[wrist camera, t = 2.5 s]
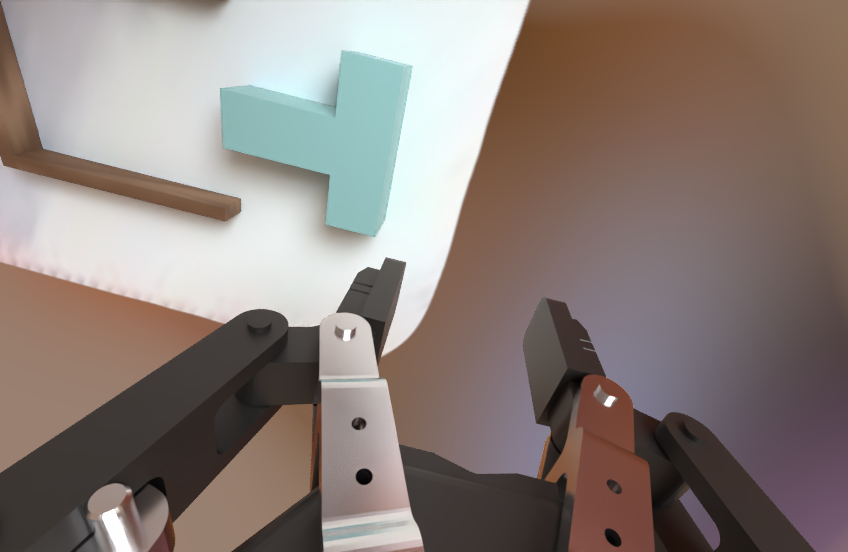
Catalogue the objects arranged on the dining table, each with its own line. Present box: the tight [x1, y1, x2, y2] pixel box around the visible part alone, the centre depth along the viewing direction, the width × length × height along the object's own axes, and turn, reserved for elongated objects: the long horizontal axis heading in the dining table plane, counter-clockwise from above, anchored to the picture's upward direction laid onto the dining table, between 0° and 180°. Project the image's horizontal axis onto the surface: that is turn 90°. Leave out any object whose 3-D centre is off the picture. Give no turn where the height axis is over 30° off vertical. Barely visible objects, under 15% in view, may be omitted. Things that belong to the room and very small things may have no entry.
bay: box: [0, 3, 241, 221], centre depth 29 cm, size 17×19×2 cm
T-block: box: [220, 51, 412, 237], centre depth 28 cm, size 12×12×4 cm
